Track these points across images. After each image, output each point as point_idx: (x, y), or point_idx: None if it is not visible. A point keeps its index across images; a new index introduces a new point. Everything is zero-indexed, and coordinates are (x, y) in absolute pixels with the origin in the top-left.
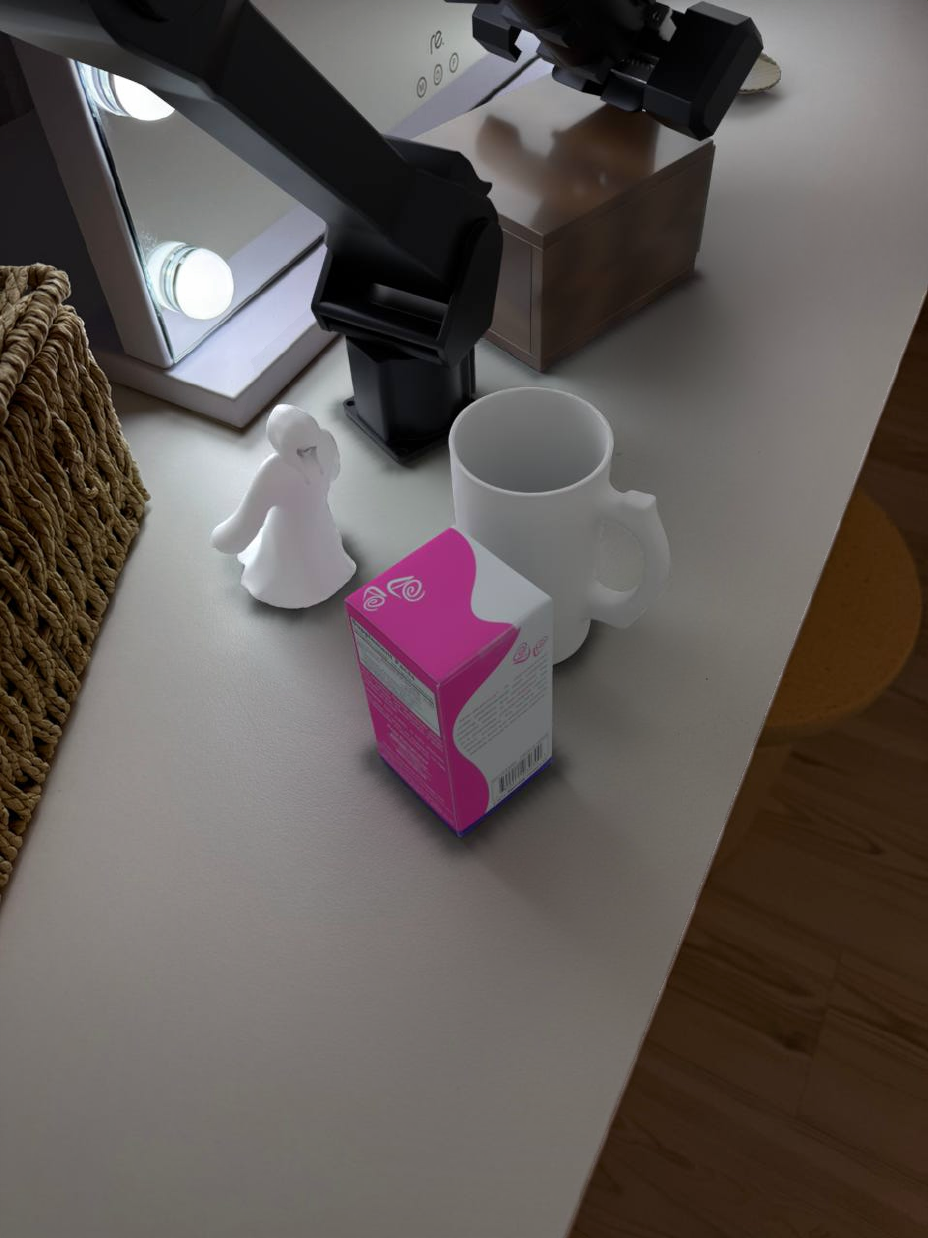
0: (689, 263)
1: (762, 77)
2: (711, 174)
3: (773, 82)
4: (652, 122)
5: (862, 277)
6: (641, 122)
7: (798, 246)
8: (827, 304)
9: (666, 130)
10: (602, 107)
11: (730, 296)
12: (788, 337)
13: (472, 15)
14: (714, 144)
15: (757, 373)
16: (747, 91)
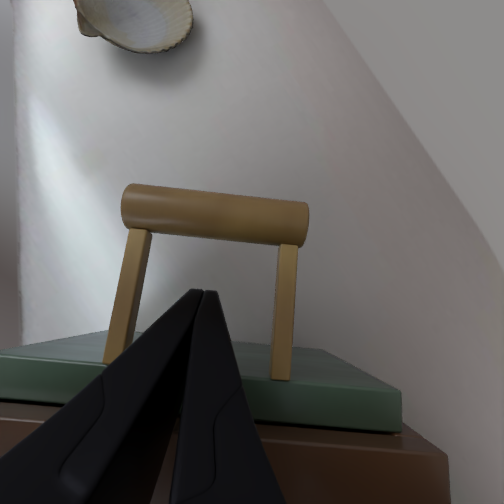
0: None
1: (170, 9)
2: (369, 374)
3: (190, 16)
4: (289, 482)
5: (448, 262)
6: None
7: (373, 251)
8: (454, 324)
9: (340, 495)
10: None
11: (379, 376)
12: (464, 401)
13: None
14: (396, 389)
15: (484, 482)
16: (178, 44)
